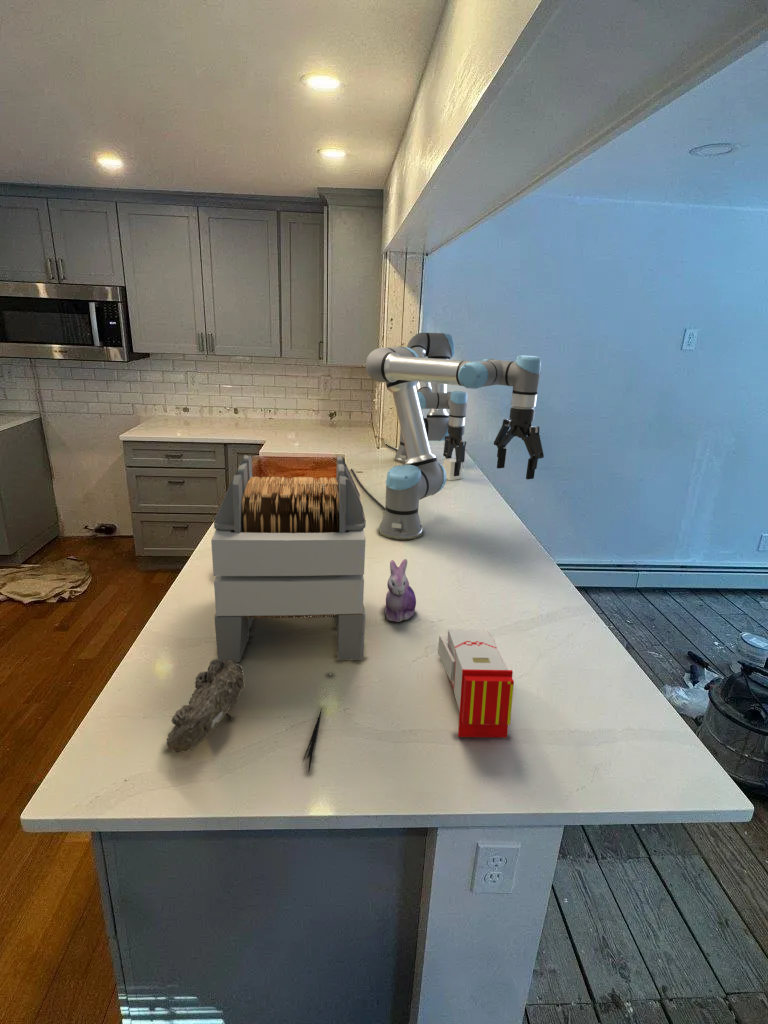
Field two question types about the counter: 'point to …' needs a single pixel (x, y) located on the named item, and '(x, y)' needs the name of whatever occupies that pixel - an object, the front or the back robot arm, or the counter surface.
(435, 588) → the counter surface
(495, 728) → the toy
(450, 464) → the block
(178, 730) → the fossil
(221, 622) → the record storage crate
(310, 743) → the feather
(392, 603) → the figurine
